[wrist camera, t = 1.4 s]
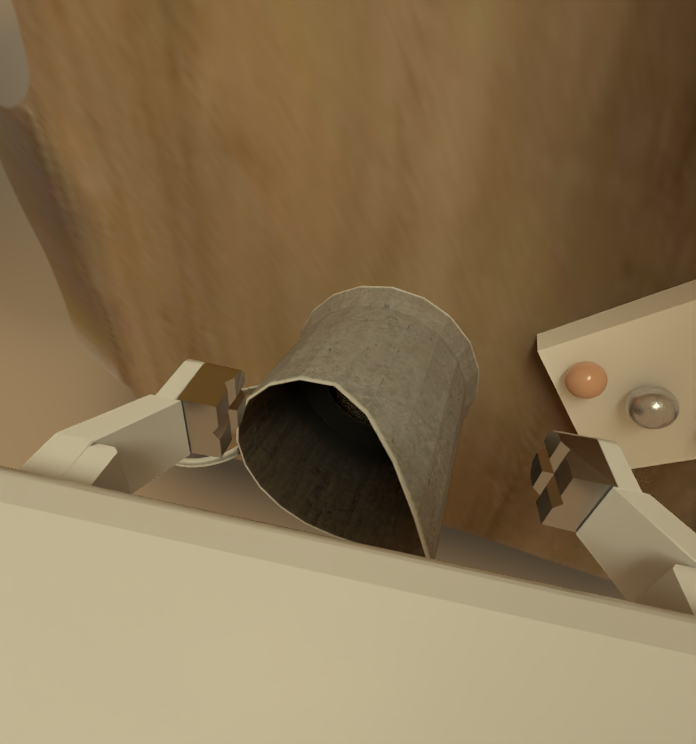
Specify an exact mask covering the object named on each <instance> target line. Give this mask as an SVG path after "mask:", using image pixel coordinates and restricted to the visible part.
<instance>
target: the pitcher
mask: <svg viewBox="0 0 696 744" xmlns="http://www.w3.org/2000/svg"><path fill="white" fill-rule="evenodd" d="M478 380H479V367H478V364H477V361H476V358H475V355H474V352H473V348H472V345H471V342H470V341H469V339H468V338H467V337H466V336H465V334H464V333H463V332H462V330H461V329H460V328H459V326H458V325H457V324H456V322H455V321H454V320H453V318H452V317H451V316H449V315H448V314H447V313H445V312H444V311H442V310H441V309H440V308H438V307H437V306H435V305H434V304H432V303H431V302H430V301H428V300H427V299H425V298H424V297H421V296H418V295H415V294H412V293H409V292H406V291H403V290H400V289H397V288H394V287H383V286H359V287H355V288H352V289H349V290H346V291H342V292H339V293H336V294H333V295H332V296H331V297H329V298H328V299H327V300H325V301H324V302H323V303H322V304H320V305H319V306H318V307H317V308H315V309H314V310H313V311H312V313H311V315H310V317H309V318H308V320H307V322H306V324H305V325H304V327H303V329H302V332H301V338H300V340H299V341H298V342H297V343H296V344H295V345H294V346H293V348H292V349H291V350H290V351H289V352H288V353H287V354H286V355H285V357H284V358H283V359H282V360H281V361H280V362H279V363H278V364H277V366H276V367H275V368H274V369H273V370H272V371H271V372H270V374H269V375H268V376H267V377H266V378H265V379H264V380H263V381H262V383H261V384H260V385H257V386H251V387H247V388H243V389H241V390H242V391H243V392H244V394H245V395H249V394H251V395H250V396H249V397H248V398H247V400H246V405H245V412H244V415H243V418H242V421H241V423H240V425H239V427H238V428H237V436H236V441H237V444H238V446H236V447H235V448H233V449H231V450H229V451H227V452H225V453H224V455H223V457H222V458H218V457H213V456H210V457H206V458H198V459H185V458H184V459H183V460H181V461H180V462H178V463H177V464H175V465H177V466H183V467H203V466H209V465H214V464H218V463H221V462H224V461H227V460H230V459H232V458H234V457H236V456H238V455H239V454H241V456H242V459H243V462H244V465H245V466H246V468H247V469H248V471H249V472H250V474H251V475H252V476H253V478H254V479H255V481H256V482H257V484H258V486H259V487H260V488H261V489H262V490H263V491H264V492H265V493H266V494H267V495H268V496H269V497H270V498H271V499H272V500H273V501H274V502H275V503H276V504H277V505H278V506H279V507H281V508H282V509H284V510H285V511H287V512H288V513H290V514H291V515H293V516H294V517H296V518H297V519H299V520H300V521H302V522H303V523H305V524H307V525H309V526H311V527H313V528H316V529H318V530H320V531H322V532H324V533H327V534H329V535H331V536H334V537H337V538H339V539H342V540H347V541H352V542H356V543H361V544H366V545H370V546H375V547H379V548H384V549H389V550H393V551H398V552H403V553H407V554H412V555H417V556H421V557H426V558H430V559H435V557H436V552H437V547H438V542H439V536H440V531H441V526H442V521H443V516H444V511H445V506H446V501H447V496H448V491H449V486H450V481H451V476H452V471H453V466H454V461H455V455H456V450H457V445H458V440H459V435H460V430H461V425H462V420H463V419H464V418H465V417H466V416H467V414H468V412H469V411H470V409H471V407H472V405H473V403H474V401H475V399H476V397H477V394H478ZM327 385H330V386H335V387H336V388H337V389H338V390H339V391H340V392H341V393H342V394H344V395H345V396H346V397H347V398H348V399H349V400H350V401H351V402H352V403H353V404H355V405H356V406H357V407H358V408H359V409H360V410H361V411H362V412H363V413H364V414H366V416H367V418H368V419H369V421H370V423H371V425H372V426H371V425H368V424H366V423H363V422H361V421H358V420H356V419H355V418H354V417H352V416H351V415H349V414H348V413H346V412H345V411H344V410H343V409H342V408H341V407H340V406H339V405H338V404H337V402H336V401H335V400H334V399H333V397H332V395H331V393H330V391H329V389H328V387H327Z"/></svg>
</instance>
